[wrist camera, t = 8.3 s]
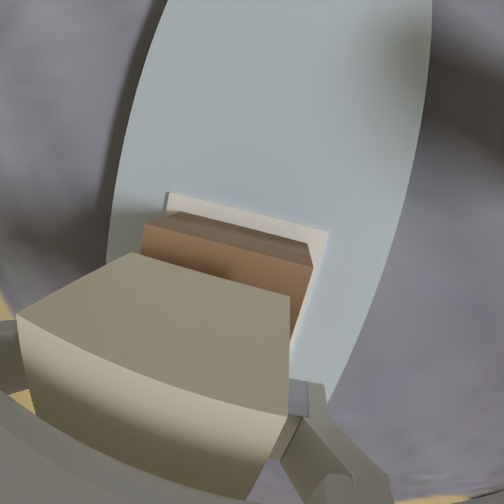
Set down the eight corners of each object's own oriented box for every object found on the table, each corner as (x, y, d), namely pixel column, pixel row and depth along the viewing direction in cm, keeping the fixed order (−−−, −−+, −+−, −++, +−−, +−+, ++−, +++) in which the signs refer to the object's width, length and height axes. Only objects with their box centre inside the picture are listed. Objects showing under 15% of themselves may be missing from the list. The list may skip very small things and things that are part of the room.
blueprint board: (199, -41, 12) (192, -55, 11) (423, 3, 11) (433, -9, 10) (113, 343, 19) (101, 355, 17) (318, 403, 18) (319, 420, 16)
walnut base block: (182, 211, 14) (144, 223, 10) (307, 243, 14) (313, 267, 10) (163, 322, 16) (131, 360, 12) (273, 353, 15) (267, 403, 12)
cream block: (131, 252, 9) (15, 313, 4) (289, 296, 9) (287, 416, 4) (122, 375, 10) (53, 463, 6) (250, 417, 10) (226, 532, 5)
